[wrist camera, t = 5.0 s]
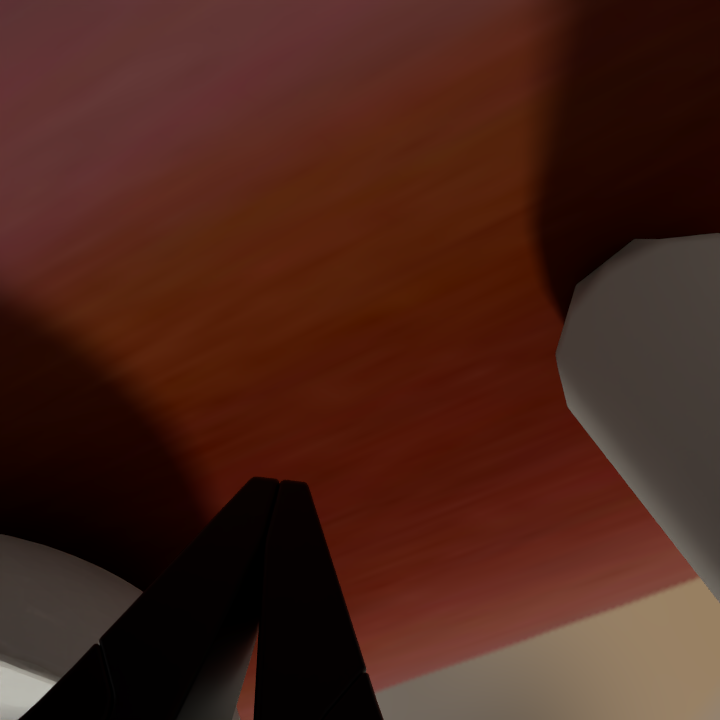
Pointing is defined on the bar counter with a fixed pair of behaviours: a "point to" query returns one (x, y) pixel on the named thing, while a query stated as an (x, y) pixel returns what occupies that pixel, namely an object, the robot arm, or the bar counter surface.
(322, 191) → the bar counter surface
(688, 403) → the salt shaker
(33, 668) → the serving bowl
